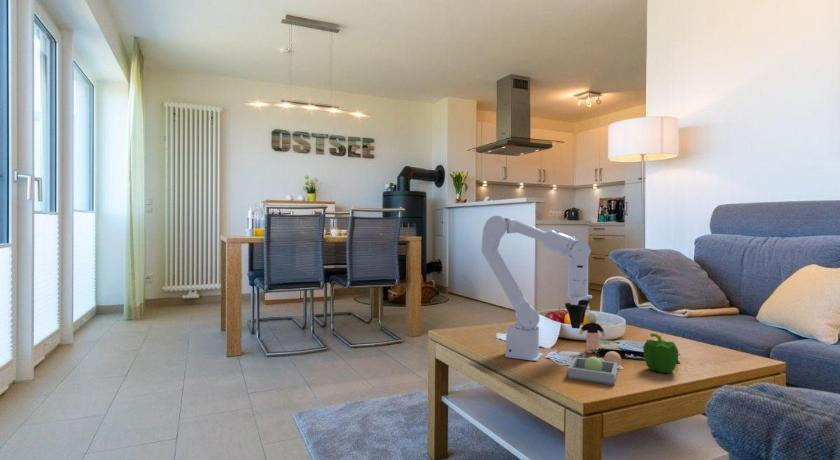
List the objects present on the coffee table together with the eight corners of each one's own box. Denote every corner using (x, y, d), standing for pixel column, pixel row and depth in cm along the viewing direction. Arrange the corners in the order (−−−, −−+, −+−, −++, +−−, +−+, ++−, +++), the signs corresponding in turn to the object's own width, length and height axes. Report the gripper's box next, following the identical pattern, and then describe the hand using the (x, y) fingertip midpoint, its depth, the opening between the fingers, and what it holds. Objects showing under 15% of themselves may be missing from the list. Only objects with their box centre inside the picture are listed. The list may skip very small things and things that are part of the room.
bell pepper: (684, 372, 123) (684, 335, 123) (667, 377, 118) (668, 339, 118) (654, 364, 130) (654, 329, 130) (637, 369, 125) (637, 333, 125)
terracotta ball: (603, 368, 126) (603, 352, 126) (604, 364, 130) (605, 348, 130) (620, 370, 124) (620, 354, 124) (621, 366, 128) (621, 350, 128)
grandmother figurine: (602, 350, 144) (602, 310, 144) (606, 353, 140) (606, 313, 140) (577, 349, 145) (578, 310, 145) (580, 353, 141) (581, 312, 141)
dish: (568, 378, 117) (568, 368, 117) (574, 367, 127) (574, 357, 127) (614, 385, 112) (614, 374, 112) (617, 373, 122) (617, 362, 122)
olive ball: (583, 375, 119) (583, 358, 118) (586, 368, 122) (586, 353, 122) (601, 378, 116) (601, 361, 116) (603, 372, 120) (603, 356, 120)
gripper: (589, 283, 127) (588, 331, 127) (594, 278, 140) (594, 322, 140) (563, 282, 130) (562, 329, 130) (571, 277, 143) (570, 320, 143)
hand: (577, 325), depth 135 cm, fingers open, 7 cm apart
